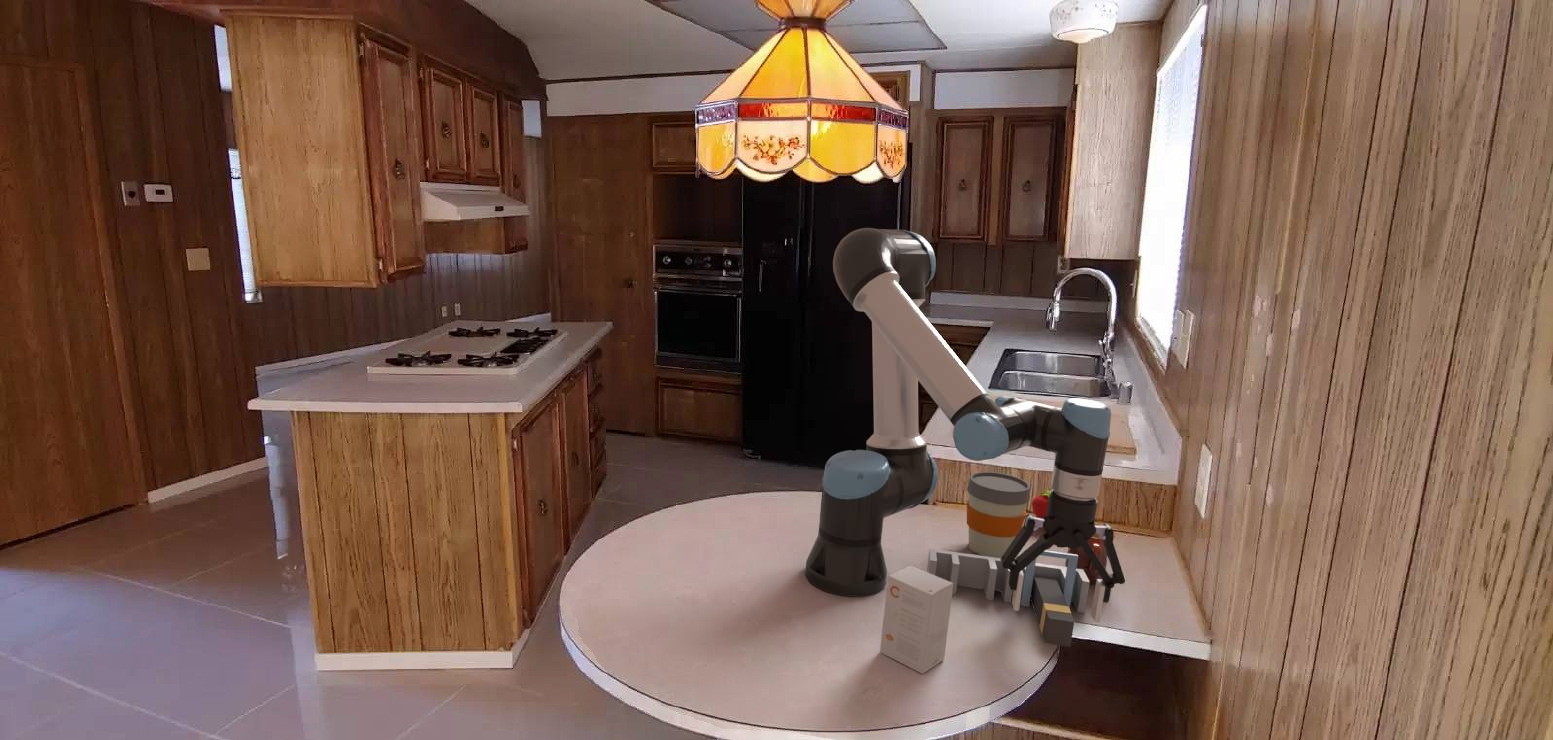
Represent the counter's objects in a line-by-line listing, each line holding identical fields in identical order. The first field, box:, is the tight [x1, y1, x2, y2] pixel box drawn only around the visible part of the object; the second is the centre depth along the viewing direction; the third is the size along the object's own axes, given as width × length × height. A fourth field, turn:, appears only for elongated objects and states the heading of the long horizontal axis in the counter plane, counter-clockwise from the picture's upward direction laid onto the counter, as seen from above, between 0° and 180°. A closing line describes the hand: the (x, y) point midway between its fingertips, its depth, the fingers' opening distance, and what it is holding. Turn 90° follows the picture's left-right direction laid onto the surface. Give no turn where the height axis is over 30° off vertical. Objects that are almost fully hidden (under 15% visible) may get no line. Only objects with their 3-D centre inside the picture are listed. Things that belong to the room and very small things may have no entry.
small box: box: [879, 565, 953, 675], centre depth 123 cm, size 8×6×13 cm
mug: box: [1064, 522, 1117, 586], centre depth 155 cm, size 12×9×10 cm
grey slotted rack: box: [926, 548, 1090, 614], centre depth 147 cm, size 28×5×6 cm, turn 81°
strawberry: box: [1031, 489, 1051, 519], centre depth 181 cm, size 6×8×10 cm
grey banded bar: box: [1030, 576, 1075, 648], centre depth 138 cm, size 4×16×5 cm, turn 171°
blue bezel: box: [1020, 549, 1078, 610], centre depth 142 cm, size 8×1×11 cm, turn 81°
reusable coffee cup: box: [966, 471, 1031, 558], centre depth 166 cm, size 13×13×15 cm
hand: (1054, 612), depth 136 cm, fingers open, 12 cm apart
